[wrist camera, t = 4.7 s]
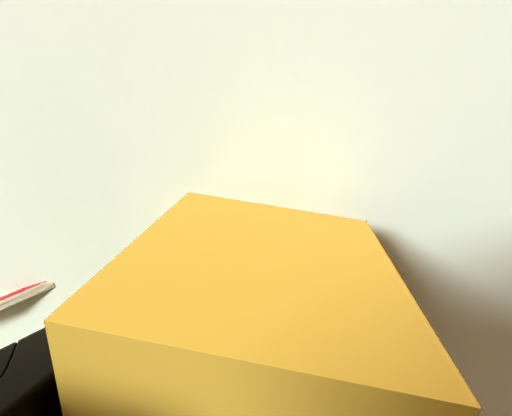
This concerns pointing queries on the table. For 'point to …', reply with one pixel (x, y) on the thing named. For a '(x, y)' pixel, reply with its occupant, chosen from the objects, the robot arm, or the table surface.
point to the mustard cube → (251, 323)
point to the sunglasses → (24, 294)
